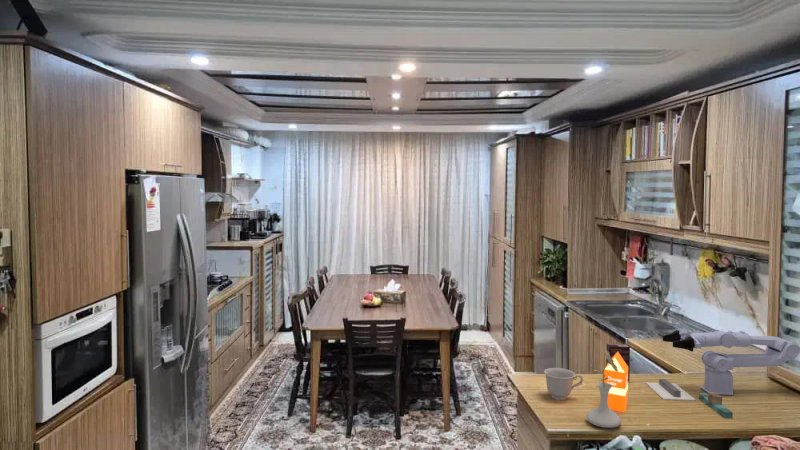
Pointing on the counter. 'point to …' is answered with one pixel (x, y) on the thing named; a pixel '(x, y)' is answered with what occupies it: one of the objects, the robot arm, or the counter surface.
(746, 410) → the counter surface
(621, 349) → the supplement box
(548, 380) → the teacup
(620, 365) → the orange juice
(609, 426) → the flower in vase
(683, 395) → the ridge board
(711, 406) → the bar
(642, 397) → the counter surface
